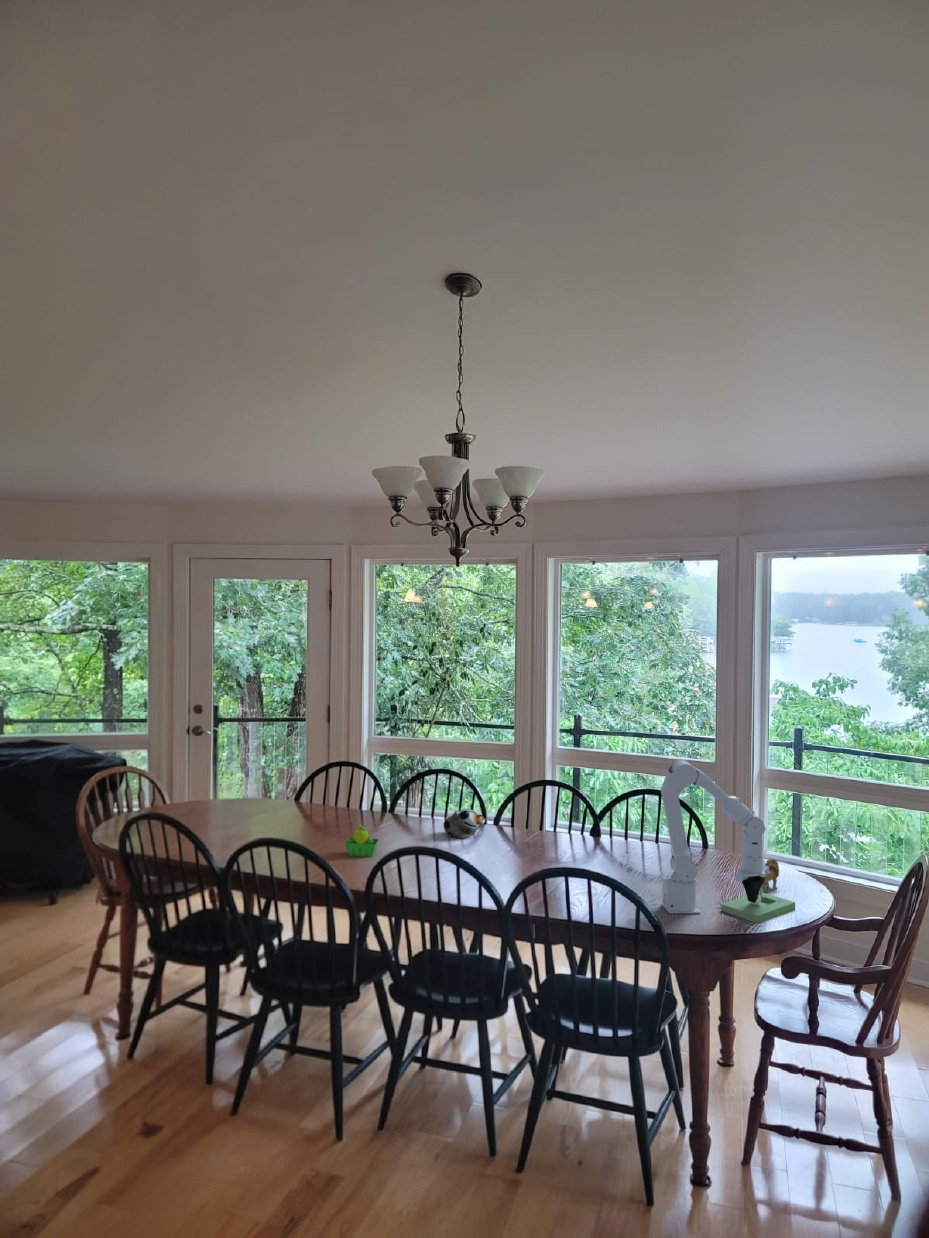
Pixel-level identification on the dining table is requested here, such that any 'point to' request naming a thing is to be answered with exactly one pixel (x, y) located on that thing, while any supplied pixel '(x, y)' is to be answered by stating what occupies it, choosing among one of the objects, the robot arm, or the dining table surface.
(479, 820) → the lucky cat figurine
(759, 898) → the golf ball
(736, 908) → the putting mat
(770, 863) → the lion figurine
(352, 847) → the fruit basket
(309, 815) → the dining table surface
